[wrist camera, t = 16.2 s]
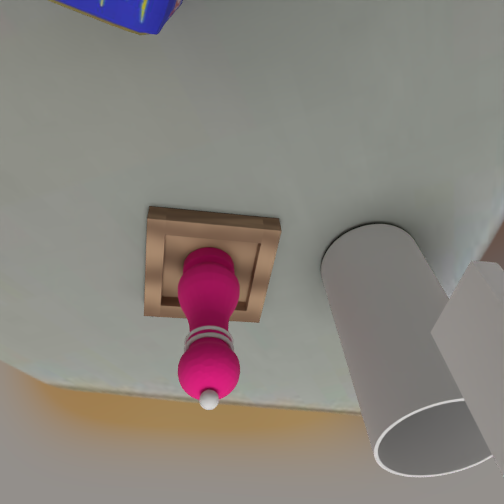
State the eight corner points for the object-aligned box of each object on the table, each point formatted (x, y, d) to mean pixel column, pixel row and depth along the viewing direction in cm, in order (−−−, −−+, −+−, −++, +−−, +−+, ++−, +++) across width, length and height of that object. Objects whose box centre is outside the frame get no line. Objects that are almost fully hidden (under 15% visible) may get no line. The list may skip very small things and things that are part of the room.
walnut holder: (149, 206, 53) (147, 218, 51) (278, 218, 55) (281, 230, 53) (145, 302, 62) (143, 315, 60) (257, 309, 64) (258, 322, 62)
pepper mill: (195, 234, 55) (189, 374, 39) (248, 256, 57) (264, 395, 42) (169, 276, 58) (155, 420, 43) (221, 295, 61) (225, 436, 45)
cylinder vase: (312, 234, 57) (368, 416, 37) (414, 210, 56) (527, 384, 36) (326, 305, 65) (379, 487, 45) (417, 284, 64) (511, 462, 44)
